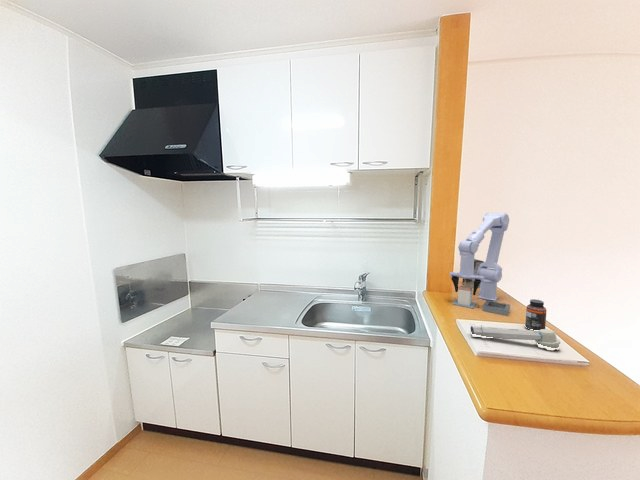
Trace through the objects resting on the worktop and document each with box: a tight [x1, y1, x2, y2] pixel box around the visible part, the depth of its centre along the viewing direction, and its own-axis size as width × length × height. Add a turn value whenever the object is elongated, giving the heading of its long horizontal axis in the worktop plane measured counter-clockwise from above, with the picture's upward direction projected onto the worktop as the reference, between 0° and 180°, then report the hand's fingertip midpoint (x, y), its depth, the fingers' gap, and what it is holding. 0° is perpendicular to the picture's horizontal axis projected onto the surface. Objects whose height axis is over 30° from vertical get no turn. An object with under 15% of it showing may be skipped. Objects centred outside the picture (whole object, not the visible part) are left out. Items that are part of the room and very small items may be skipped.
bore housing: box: [482, 299, 511, 317], centre depth 121 cm, size 10×10×2 cm
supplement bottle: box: [524, 298, 547, 330], centre depth 101 cm, size 6×6×11 cm
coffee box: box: [461, 258, 485, 289], centre depth 160 cm, size 9×6×16 cm
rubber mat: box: [451, 298, 478, 309], centre depth 130 cm, size 9×9×1 cm
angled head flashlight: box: [470, 324, 561, 348], centre depth 92 cm, size 5×7×25 cm
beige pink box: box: [457, 284, 473, 306], centre depth 129 cm, size 5×5×8 cm
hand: (465, 293), depth 129 cm, fingers open, 7 cm apart
